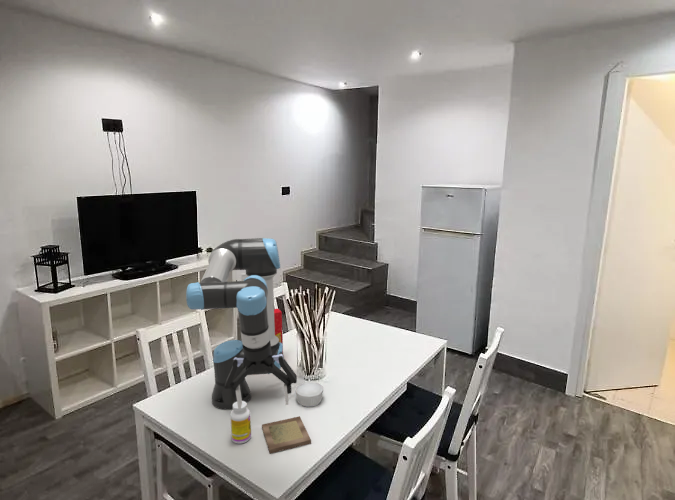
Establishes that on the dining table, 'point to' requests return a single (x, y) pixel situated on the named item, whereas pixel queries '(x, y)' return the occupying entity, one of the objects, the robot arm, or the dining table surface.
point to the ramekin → (309, 393)
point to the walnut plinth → (285, 434)
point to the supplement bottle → (240, 423)
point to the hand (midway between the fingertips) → (263, 403)
